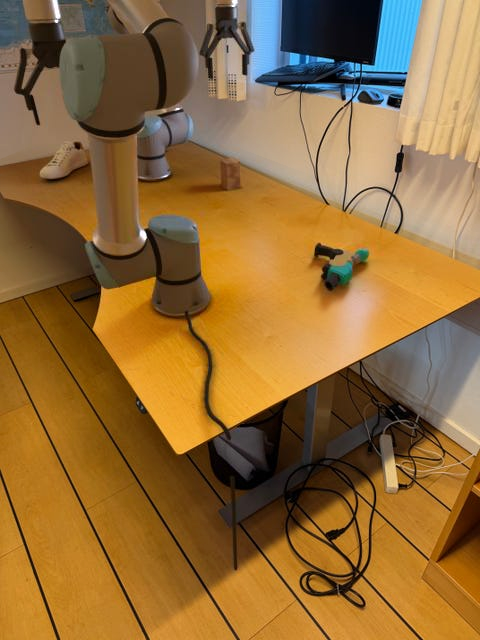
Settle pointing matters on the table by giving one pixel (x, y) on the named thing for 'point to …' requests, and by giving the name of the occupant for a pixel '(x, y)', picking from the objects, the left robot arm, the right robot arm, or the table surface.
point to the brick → (230, 173)
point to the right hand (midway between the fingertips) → (66, 120)
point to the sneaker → (65, 161)
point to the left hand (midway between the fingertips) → (227, 76)
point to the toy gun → (339, 264)
